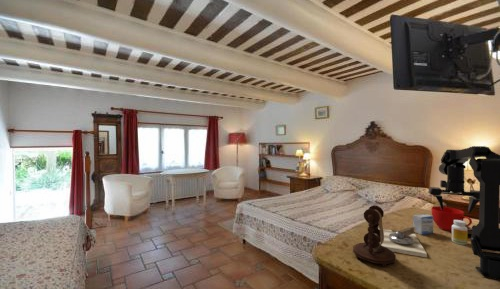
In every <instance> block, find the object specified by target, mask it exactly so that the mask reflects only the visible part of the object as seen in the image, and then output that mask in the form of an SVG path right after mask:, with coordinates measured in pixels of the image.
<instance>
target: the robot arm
mask: <svg viewBox="0 0 500 289" xmlns="http://www.w3.org/2000/svg"><path fill="white" fill-rule="evenodd" d="M466 162H468V164H469V166H470V168H471V169H472V170H473V176H474V178H475V179H476V180H477V181H478V183H479V190H475V189H473V190H472V189H471V190H469V191H465V183H466V182H465V169H466V168H467V167H466V165H465V163H466ZM440 163H441V164H440V165H439V166H438V170H439V172H440V174H442V175H446V176H447V178H446V180H442V179H441V180H440V184H439V185H440V186H439V187H434V186H430V187H428V194H430V195H432V196H433V197H434V198H436V200H437V202H438V204H439V206H440V207H441V210H442V211H443V207H444V200H443V196H442V195H452V196H453V195H455V196H463V197H465V196H467V197H468V208H467V214H469V215H471V213H472V212H473V210H474V208H475V206H477V205H478V203H479V205H478V207H479V209H478V210H479V211H478V212H479V213H478V223H477V224H476V225H472V226H471V236H470V244H471V250H472V254H473V255H474V256H476V257H479V266H475V267H474V268H475V269H476V270H477V271H478V272H479V274H480V275H481V276H482V277H483V276H484V278H487V277H490V278H489V279H492V278H496V279H495V280H498V279H500V154H499V153H496V152H494V151H492V150H491V149H490V147H488V146H486V145H483V146H482V145H481V146H480V145H477V146H475V145H473V146H469V147H467V148H462V149H446V150H445V151H444V153H443V154H442V157H441V159H440ZM442 188H444V189H442ZM491 251H492V252H491Z"/></svg>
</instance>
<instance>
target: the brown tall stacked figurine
mask: <svg viewBox="0 0 500 289" xmlns="http://www.w3.org/2000/svg"><path fill="white" fill-rule="evenodd" d="M384 214H385V213H384V210H383V209H382V208H381V207H380V206H379V205H377V204H376V205H375V204H374V205H370V207H368V209H365V211H364V212H363V219H364V221H366V222H367V223H368V227H367V232H366V233H365V234H364V235H363V241H364V242H359V243H356V244H354V245H353V248H352V252H353V253H354V255H355V258H356V259H359V258H360V259H361V260H364V261H367V262H369V263H373V264H379V265H382V266H383V267H384V268H386V267H387V265H388V264H393V263H395V261H396V254H395V252H392V251H391V250H390V249H388V248H386V247H384V246H382V245H381V244H382V243H383V241H384V232H383V229H384V226H383V217H384ZM379 229H380V230H379ZM380 242H381V243H380Z"/></svg>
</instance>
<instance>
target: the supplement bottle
mask: <svg viewBox="0 0 500 289" xmlns="http://www.w3.org/2000/svg"><path fill="white" fill-rule="evenodd" d="M465 225H467V224H466V221H464V220H463V221H461V220H454V224H453V225H452V231H451V243H455V244H457V245H462V246H464V245H465V246H466V245H468V226H467V227H465Z"/></svg>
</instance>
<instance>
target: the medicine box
mask: <svg viewBox="0 0 500 289" xmlns="http://www.w3.org/2000/svg"><path fill="white" fill-rule="evenodd" d="M412 222H413V223H412V224H413V225H412V226H413V227H415V234H419V235H421V236H422V235H429V234H430V235H431V234H434V220H433V216H432V214H431V215H430V214H426V213H422V214H413V215H412Z"/></svg>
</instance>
